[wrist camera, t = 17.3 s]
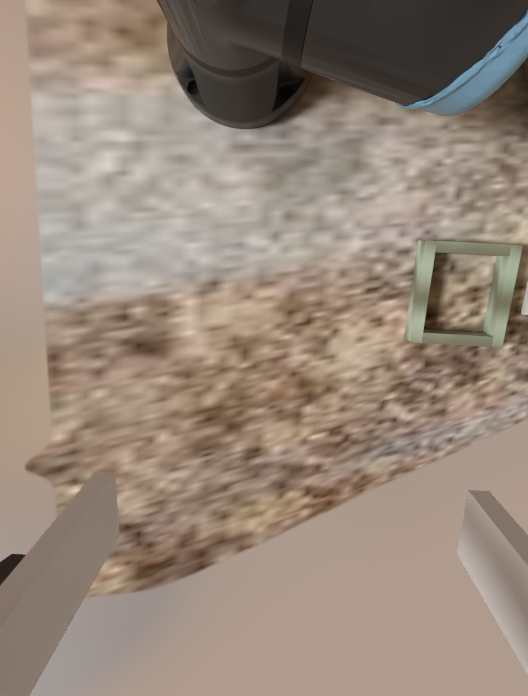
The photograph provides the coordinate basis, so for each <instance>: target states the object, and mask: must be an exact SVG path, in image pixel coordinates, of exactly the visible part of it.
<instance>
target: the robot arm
mask: <svg viewBox="0 0 528 696" xmlns="http://www.w3.org/2000/svg"><path fill="white" fill-rule="evenodd" d="M157 1H158V3H159V5H160V7H161V9H162V11H163V13H164V15H165V17H166V19H167V21H168V24H167V44H168V51H169V56H170V61H171V64H172V68H173V71H174V73H175V76H176V78H177V80H178V82H179V84H180V86H181V87H182V89H183V91H184V92H185V94H186V95H187V97H188V98H189V100H190V101H191V102H192V104H193V105H194V106H195V107H196V108H197V109H198V110H199V111H200V112H201V113H202V114H204V115H205V116H206V117H208V118H209V119H211V120H213V121H215V122H217V123H219V124H221V125H224V126H228V127H232V128H239V129H249V128H256V127H260V126H264V125H267V124H269V123H271V122H273V121H275V120H277V119H278V118H280V117H282V116H283V115H284V114H286V113H287V112H288V111H289V110H290V109H291V108H292V107H293V106H294V105H295V104H296V103H297V101H298V100H299V99H300V97H301V96H302V94H303V93H304V91H305V89H306V87H307V85H308V83H309V80H310V78H311V75H312V73H315V74H318V75H321V76H323V77H326V78H329V79H332V80H335V81H337V82H340V83H343V84H346V85H348V86H351V87H354V88H357V89H360V90H362V91H365V92H368V93H371V94H373V95H376V96H379V97H382V98H385V99H387V100H390V101H393V102H395V103H396V104H397V105H398V106H400V107H402V108H408V109H421V110H424V111H427V112H431V113H434V114H438V115H443V116H451V115H457V114H461V113H463V112H466V111H468V110H470V109H472V108H474V107H475V106H477V105H478V104H480V103H481V102H483V101H484V100H486V99H487V98H488V97H489V96H491V95H492V94H493V93H494V92H495V91H496V90H497V89H498V88H499V87H501V86H502V85H503V84H504V83H505V82H506V81H507V80H508V79H509V78H510V77H511V76H512V75H513V73H514V72H515V71H516V70H517V69H518V68H519V67H520V66H521V65H522V63H523V62H524V61H525V60H526V59H527V58H528V0H157ZM118 537H119V522H118V508H117V493H116V478H115V473H102V472H95V473H94V474H93V475H92V477H91V478H90V479H89V480H88V481H87V483H86V484H85V485H84V486H83V487H82V489H81V490H80V491H79V492H78V493H77V495H76V496H75V497H74V498H73V499H72V500H71V502H70V503H69V504H68V505H67V506H66V508H65V509H64V510H63V511H62V512H61V514H60V515H59V516H58V517H57V518H56V520H55V521H54V522H53V523H52V524H51V526H50V527H49V528H48V529H47V531H46V532H45V533H44V534H43V535H42V536H41V538H40V539H39V540H38V541H37V542H36V544H35V545H34V546H33V547H32V548H31V550H30V551H29V552H28V553H27V554H26V555H21V554H11V555H10V556H8V557H7V558H6V559H4V560H3V561H1V562H0V696H29V695H30V693H31V692H32V690H33V688H34V686H35V685H36V683H37V681H38V679H39V677H40V676H41V674H42V672H43V670H44V669H45V667H46V665H47V663H48V661H49V660H50V658H51V656H52V654H53V652H54V651H55V649H56V647H57V646H58V644H59V642H60V640H61V638H62V637H63V635H64V633H65V631H66V630H67V628H68V626H69V624H70V623H71V621H72V619H73V617H74V615H75V614H76V612H77V610H78V608H79V607H80V605H81V603H82V601H83V599H84V598H85V596H86V594H87V592H88V591H89V589H90V587H91V585H92V583H93V582H94V580H95V578H96V576H97V575H98V573H99V571H100V569H101V568H102V566H103V564H104V562H105V560H106V559H107V557H108V555H109V553H110V552H111V550H112V548H113V546H114V544H115V543H116V541H117V539H118ZM457 555H458V556H459V558H460V560H461V561H462V563H463V565H464V566H465V568H466V570H467V572H468V573H469V575H470V577H471V578H472V580H473V582H474V583H475V585H476V587H477V589H478V590H479V592H480V594H481V595H482V597H483V599H484V600H485V602H486V604H487V606H488V607H489V609H490V611H491V612H492V614H493V616H494V618H495V619H496V621H497V623H498V624H499V626H500V628H501V629H502V631H503V633H504V635H505V636H506V638H507V640H508V641H509V643H510V645H511V646H512V648H513V650H514V651H515V653H516V655H517V657H518V658H519V660H520V662H521V664H522V665H523V667H524V668H525V670H526V672H527V674H528V535H527V534H526V533H525V532H524V530H523V529H522V528H521V527H520V526H519V525H518V524H517V522H516V521H515V520H514V519H513V518H512V517H511V516H510V514H509V513H508V512H507V511H506V510H505V509H504V508H503V507H502V505H501V504H500V503H499V502H498V501H497V500H496V498H495V497H494V496H493V495H492V494H491V493H490V492H489V491H474V490H468V493H467V499H466V505H465V511H464V517H463V522H462V528H461V535H460V539H459V546H458V551H457Z"/></svg>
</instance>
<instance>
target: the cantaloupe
mask: <svg viewBox="0 0 528 696" xmlns="http://www.w3.org/2000/svg"><path fill="white" fill-rule="evenodd" d="M523 64H524V70H525V73H526V77H527V79H528V58H527V59H526V60H525V61H524V62H523Z"/></svg>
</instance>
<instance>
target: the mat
mask: <svg viewBox="0 0 528 696" xmlns="http://www.w3.org/2000/svg"><path fill="white" fill-rule="evenodd" d="M521 314H523V315H528V282H527V286H526V291H525V296H524V301H523V305H522V310H521Z"/></svg>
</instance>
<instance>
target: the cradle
mask: <svg viewBox="0 0 528 696" xmlns="http://www.w3.org/2000/svg"><path fill="white" fill-rule="evenodd" d="M522 248H523V245H508V244H489V243H470V242H451V241H432V240H422V241H418V245H417V252H416V259H415V266H414V273H413V280H412V288H411V295H410V302H409V309H408V316H407V323H406V330H405V337H404V338H406V339H407V340H409V341H410V342H416V343H432V344H449V345H466V346H483V347H500V348H502V346H503V341H504V336H505V331H506V326H507V322H508V317H509V312H510V307H511V302H512V297H513V292H514V287H515V282H516V277H517V272H518V267H519V263H520V258H521V253H522ZM435 253H454V254H472V255H491V256H497V260H496V265H495V270H494V275H493V281H492V286H491V291H490V297H489V302H488V307H487V312H486V318H485V323H484V328H483V332H466V331H449V330H432V329H424V323H425V317H426V310H427V304H428V297H429V291H430V284H431V277H432V271H433V264H434V258H435Z"/></svg>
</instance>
